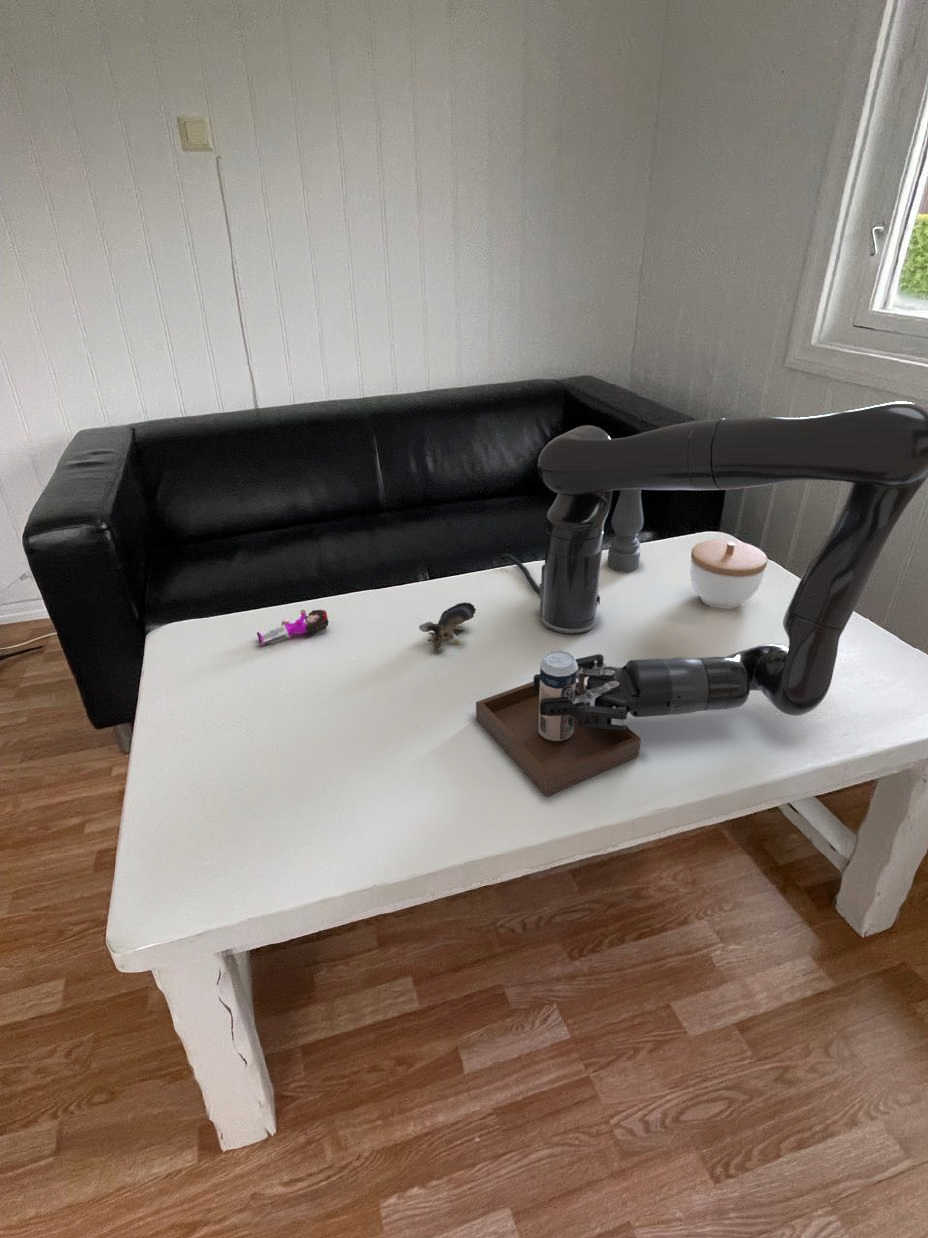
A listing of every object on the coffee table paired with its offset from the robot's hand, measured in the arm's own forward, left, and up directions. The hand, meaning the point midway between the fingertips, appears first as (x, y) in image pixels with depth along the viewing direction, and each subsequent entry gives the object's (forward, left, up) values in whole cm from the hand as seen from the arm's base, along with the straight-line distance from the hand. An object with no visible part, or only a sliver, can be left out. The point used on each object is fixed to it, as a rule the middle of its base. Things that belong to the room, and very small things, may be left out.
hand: (537, 694), depth 91 cm
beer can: (+1, +2, -7) cm, 7 cm away
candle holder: (-35, +44, -8) cm, 57 cm away
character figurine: (-43, -21, -8) cm, 48 cm away
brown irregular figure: (-28, +1, -8) cm, 29 cm away
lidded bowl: (-15, +50, -8) cm, 53 cm away
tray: (+1, +2, -7) cm, 8 cm away
